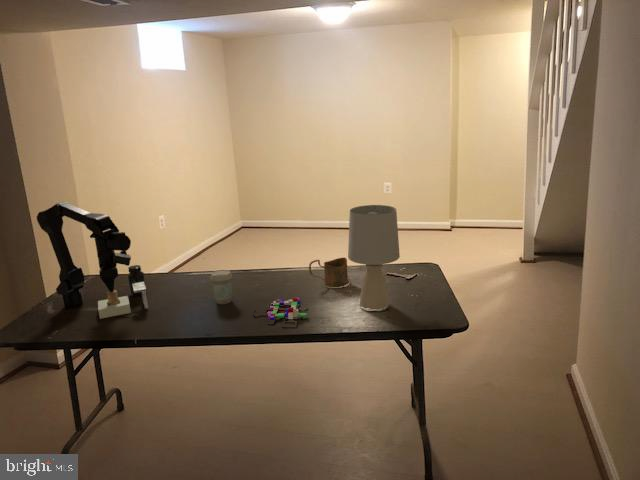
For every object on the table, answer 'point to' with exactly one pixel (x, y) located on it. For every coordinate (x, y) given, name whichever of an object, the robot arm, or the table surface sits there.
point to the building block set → (289, 312)
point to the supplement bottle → (135, 278)
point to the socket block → (114, 307)
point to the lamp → (373, 249)
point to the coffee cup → (222, 285)
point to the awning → (141, 288)
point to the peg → (112, 298)
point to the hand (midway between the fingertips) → (111, 288)
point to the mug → (334, 272)
